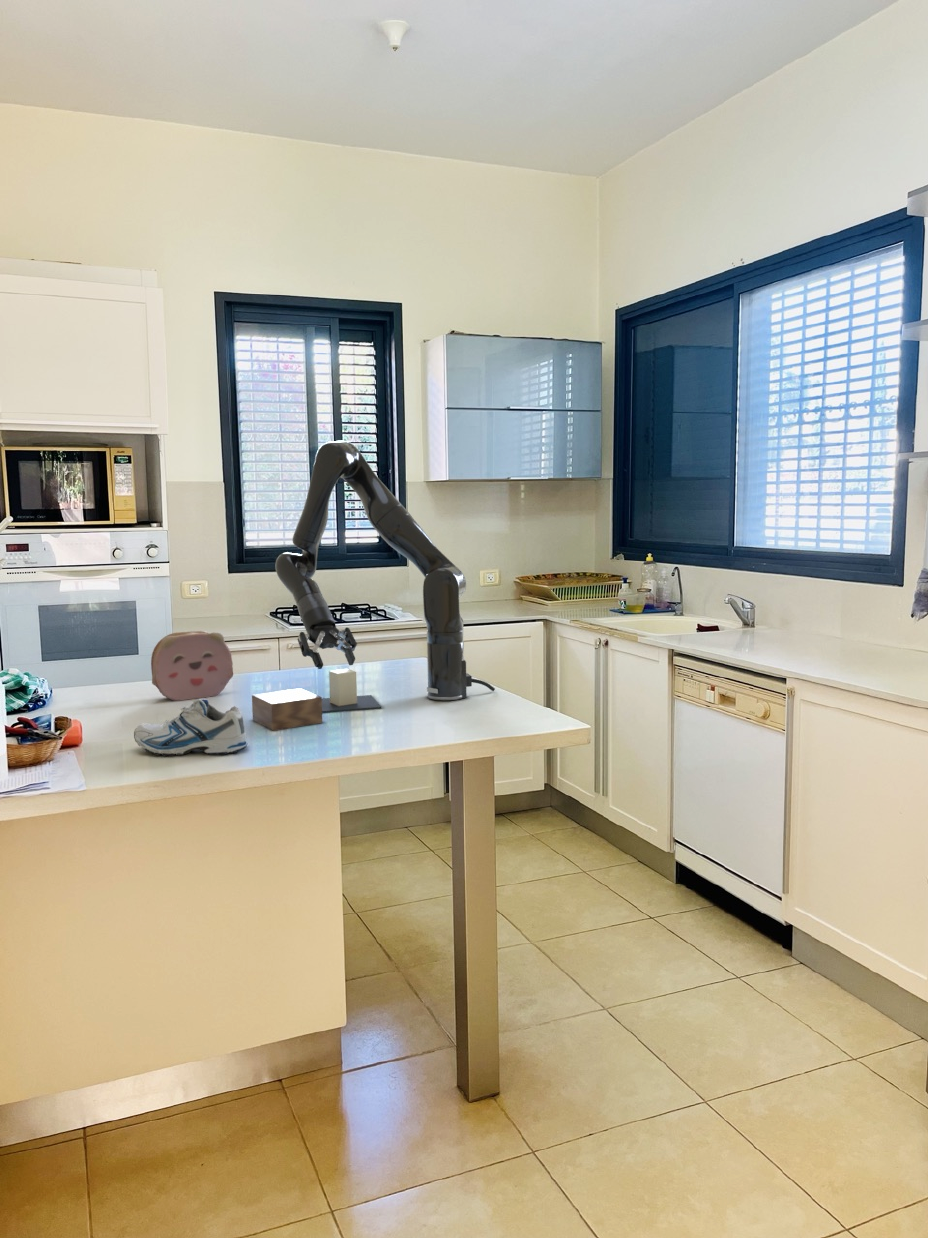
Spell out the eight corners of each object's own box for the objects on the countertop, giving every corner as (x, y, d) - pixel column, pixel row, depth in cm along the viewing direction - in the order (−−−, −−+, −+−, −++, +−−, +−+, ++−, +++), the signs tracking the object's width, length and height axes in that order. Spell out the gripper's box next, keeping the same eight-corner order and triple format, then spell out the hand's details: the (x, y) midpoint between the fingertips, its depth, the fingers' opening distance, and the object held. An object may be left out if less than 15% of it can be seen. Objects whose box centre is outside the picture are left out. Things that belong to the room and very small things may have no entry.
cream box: (347, 699, 234) (347, 668, 233) (357, 703, 229) (356, 671, 228) (329, 702, 231) (328, 670, 230) (338, 706, 227) (337, 673, 226)
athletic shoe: (140, 742, 195) (134, 691, 191) (252, 740, 197) (248, 690, 193) (128, 767, 186) (121, 713, 182) (245, 765, 188) (241, 712, 184)
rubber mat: (371, 696, 239) (371, 695, 239) (381, 708, 226) (381, 706, 226) (308, 701, 235) (308, 699, 235) (314, 713, 221) (314, 711, 221)
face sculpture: (156, 703, 234) (152, 638, 231) (150, 698, 239) (146, 634, 237) (235, 694, 244) (232, 631, 241) (227, 689, 250) (224, 627, 247)
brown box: (300, 712, 222) (300, 688, 221) (322, 722, 212) (321, 697, 211) (252, 720, 215) (251, 694, 215) (272, 730, 205) (271, 704, 205)
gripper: (293, 607, 233) (314, 659, 225) (345, 603, 241) (367, 653, 233) (286, 626, 238) (306, 677, 230) (336, 621, 246) (357, 670, 238)
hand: (336, 665), depth 232 cm, fingers open, 8 cm apart
